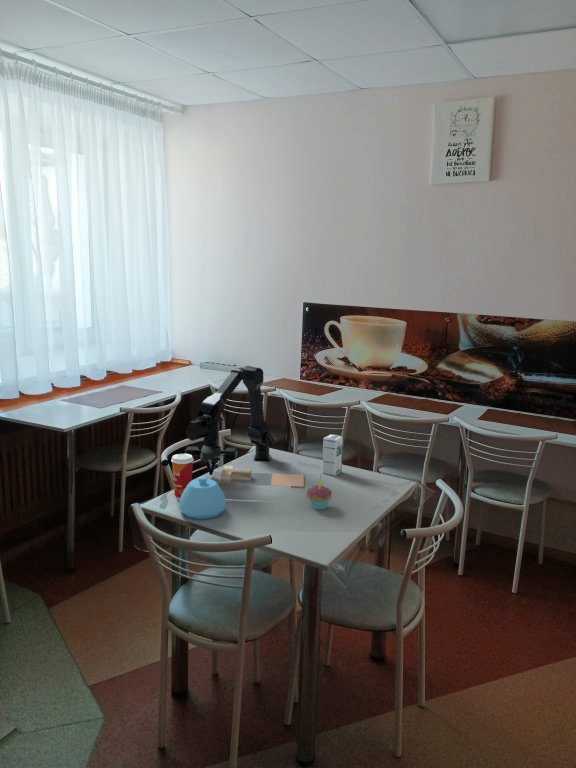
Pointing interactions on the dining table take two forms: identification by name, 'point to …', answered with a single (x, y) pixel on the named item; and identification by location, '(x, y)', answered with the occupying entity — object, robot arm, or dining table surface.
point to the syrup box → (332, 454)
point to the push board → (266, 479)
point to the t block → (234, 474)
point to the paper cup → (181, 472)
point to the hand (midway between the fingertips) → (211, 474)
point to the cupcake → (319, 496)
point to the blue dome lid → (202, 499)
